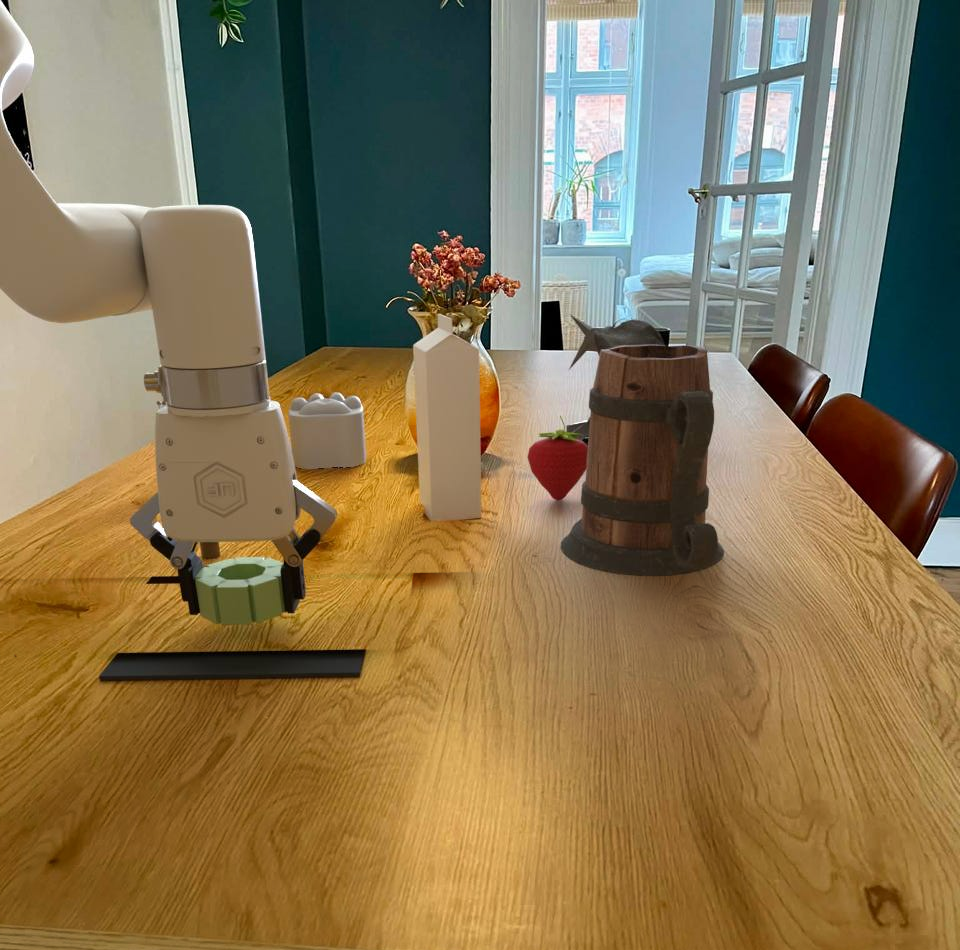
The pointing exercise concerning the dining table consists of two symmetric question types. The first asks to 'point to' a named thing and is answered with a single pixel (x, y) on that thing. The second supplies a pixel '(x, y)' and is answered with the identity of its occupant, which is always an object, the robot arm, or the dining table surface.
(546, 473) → the strawberry
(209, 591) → the ring
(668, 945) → the dining table surface
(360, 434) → the lumpy-topped squat cylinder
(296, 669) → the mat
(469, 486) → the milk
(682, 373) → the tankard
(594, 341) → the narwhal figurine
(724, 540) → the dining table surface
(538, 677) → the dining table surface
